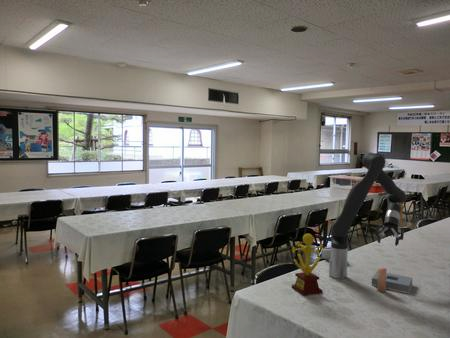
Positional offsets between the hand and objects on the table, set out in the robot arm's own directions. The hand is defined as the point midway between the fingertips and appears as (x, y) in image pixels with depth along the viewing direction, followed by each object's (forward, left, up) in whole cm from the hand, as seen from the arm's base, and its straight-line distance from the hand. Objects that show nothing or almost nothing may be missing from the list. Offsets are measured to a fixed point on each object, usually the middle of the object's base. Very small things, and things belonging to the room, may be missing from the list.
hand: (387, 243), depth 193 cm
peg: (0, -12, -23) cm, 26 cm away
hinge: (-37, +25, -23) cm, 50 cm away
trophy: (-32, -35, -23) cm, 52 cm away
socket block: (+3, 0, -23) cm, 23 cm away
